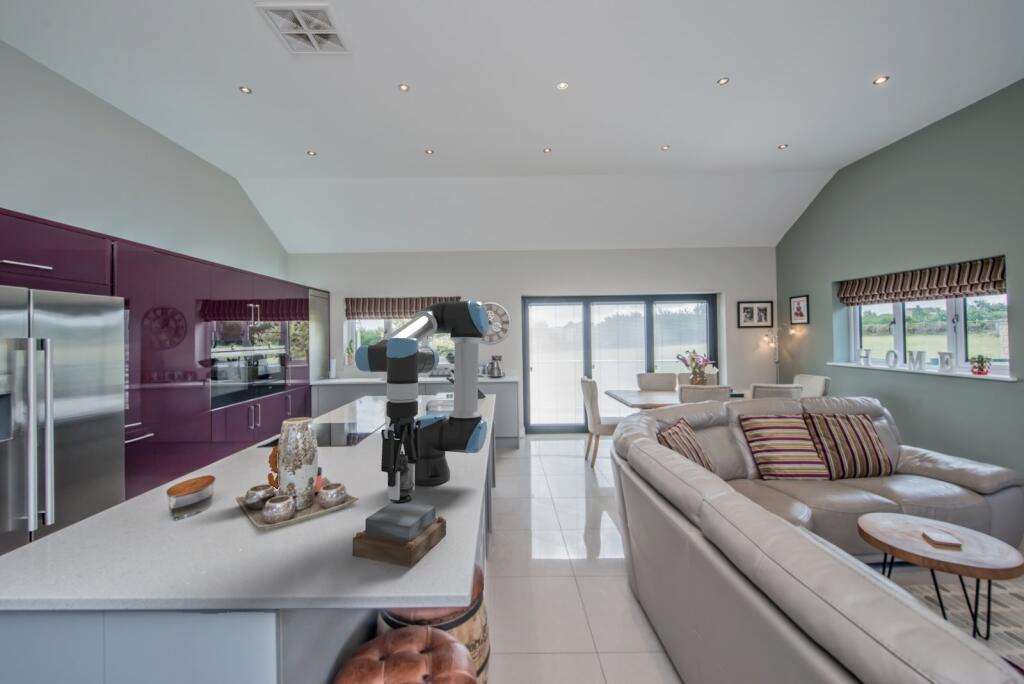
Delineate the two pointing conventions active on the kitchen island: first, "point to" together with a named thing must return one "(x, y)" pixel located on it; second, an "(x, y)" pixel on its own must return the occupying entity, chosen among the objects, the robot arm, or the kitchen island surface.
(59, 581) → the kitchen island surface
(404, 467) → the dark grey tall piece
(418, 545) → the sharpening stone holder
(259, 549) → the kitchen island surface
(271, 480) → the toy dinosaur
